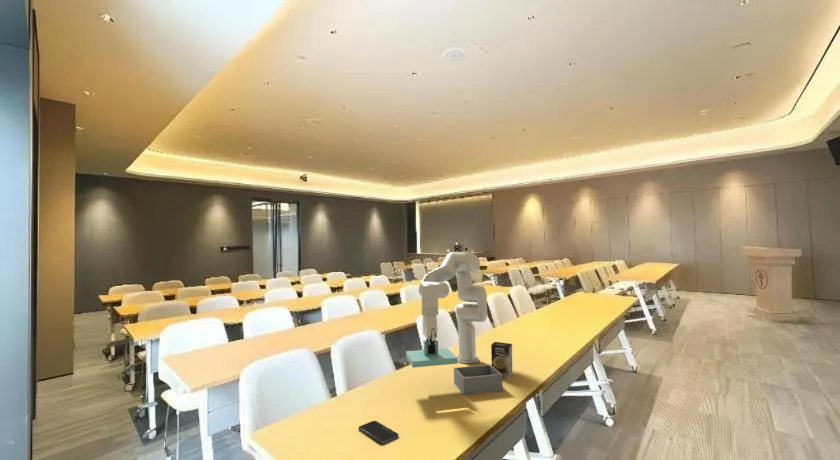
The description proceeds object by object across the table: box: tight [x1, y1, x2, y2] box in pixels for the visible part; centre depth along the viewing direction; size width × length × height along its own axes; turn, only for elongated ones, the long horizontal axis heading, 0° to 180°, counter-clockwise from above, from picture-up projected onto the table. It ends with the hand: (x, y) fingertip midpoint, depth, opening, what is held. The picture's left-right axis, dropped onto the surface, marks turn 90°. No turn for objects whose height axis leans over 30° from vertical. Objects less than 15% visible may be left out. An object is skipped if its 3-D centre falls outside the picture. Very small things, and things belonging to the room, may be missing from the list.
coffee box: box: [490, 341, 513, 379], centre depth 184 cm, size 9×6×16 cm
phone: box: [358, 420, 399, 446], centre depth 132 cm, size 8×1×15 cm
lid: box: [405, 339, 458, 369], centre depth 168 cm, size 16×20×8 cm
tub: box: [453, 363, 504, 396], centre depth 170 cm, size 14×18×8 cm
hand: (430, 352), depth 168 cm, fingers closed on lid, 3 cm apart
